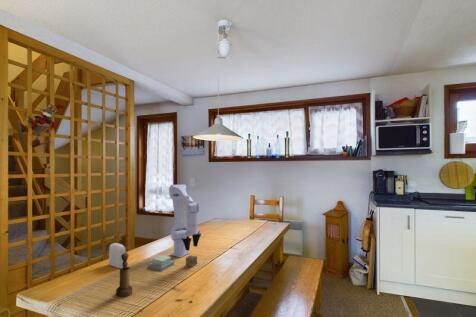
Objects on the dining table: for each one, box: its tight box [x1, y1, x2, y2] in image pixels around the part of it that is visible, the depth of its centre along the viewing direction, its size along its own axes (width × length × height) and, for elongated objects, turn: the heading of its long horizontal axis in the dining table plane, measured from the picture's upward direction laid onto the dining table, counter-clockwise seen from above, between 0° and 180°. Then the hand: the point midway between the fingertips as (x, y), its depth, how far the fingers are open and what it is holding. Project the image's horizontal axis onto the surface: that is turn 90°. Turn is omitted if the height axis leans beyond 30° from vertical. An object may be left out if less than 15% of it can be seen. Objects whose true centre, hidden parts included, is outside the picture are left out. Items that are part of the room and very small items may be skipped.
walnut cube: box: [185, 254, 198, 268], centre depth 148 cm, size 4×4×4 cm
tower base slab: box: [147, 260, 175, 272], centre depth 146 cm, size 10×10×2 cm
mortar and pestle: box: [115, 252, 133, 298], centre depth 115 cm, size 7×6×18 cm
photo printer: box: [108, 242, 126, 269], centre depth 145 cm, size 10×4×12 cm, turn 60°
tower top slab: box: [152, 254, 172, 266], centre depth 146 cm, size 7×7×2 cm
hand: (191, 248), depth 148 cm, fingers open, 7 cm apart
